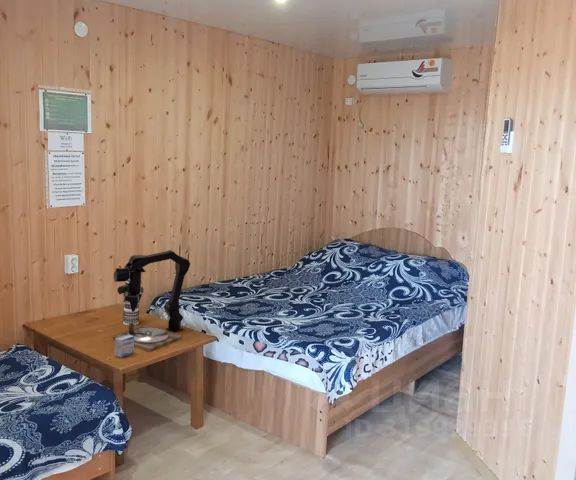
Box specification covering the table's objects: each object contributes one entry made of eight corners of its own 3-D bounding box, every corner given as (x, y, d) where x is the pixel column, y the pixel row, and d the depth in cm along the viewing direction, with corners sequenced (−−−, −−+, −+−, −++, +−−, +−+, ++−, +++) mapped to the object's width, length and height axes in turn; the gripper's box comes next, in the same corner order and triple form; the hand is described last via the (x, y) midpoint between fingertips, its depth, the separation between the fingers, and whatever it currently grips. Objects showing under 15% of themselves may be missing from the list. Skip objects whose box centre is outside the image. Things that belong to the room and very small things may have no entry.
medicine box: (120, 358, 263) (121, 340, 262) (114, 355, 266) (114, 337, 264) (133, 353, 270) (134, 336, 269) (127, 351, 272) (127, 333, 271)
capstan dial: (170, 330, 300) (171, 319, 299) (165, 344, 281) (166, 332, 280) (131, 328, 298) (132, 317, 297) (124, 342, 279) (124, 330, 278)
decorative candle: (143, 322, 313) (145, 278, 309) (130, 326, 305) (132, 281, 301) (131, 318, 318) (133, 275, 313) (118, 322, 310) (120, 278, 306)
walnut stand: (147, 327, 306) (147, 323, 305) (181, 338, 294) (182, 334, 294) (113, 339, 285) (113, 334, 285) (148, 351, 274) (149, 346, 273)
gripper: (122, 275, 298) (121, 303, 301) (115, 284, 280) (114, 314, 282) (144, 276, 299) (143, 305, 302) (138, 285, 281) (136, 316, 284)
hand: (134, 310), depth 292 cm, fingers open, 5 cm apart
